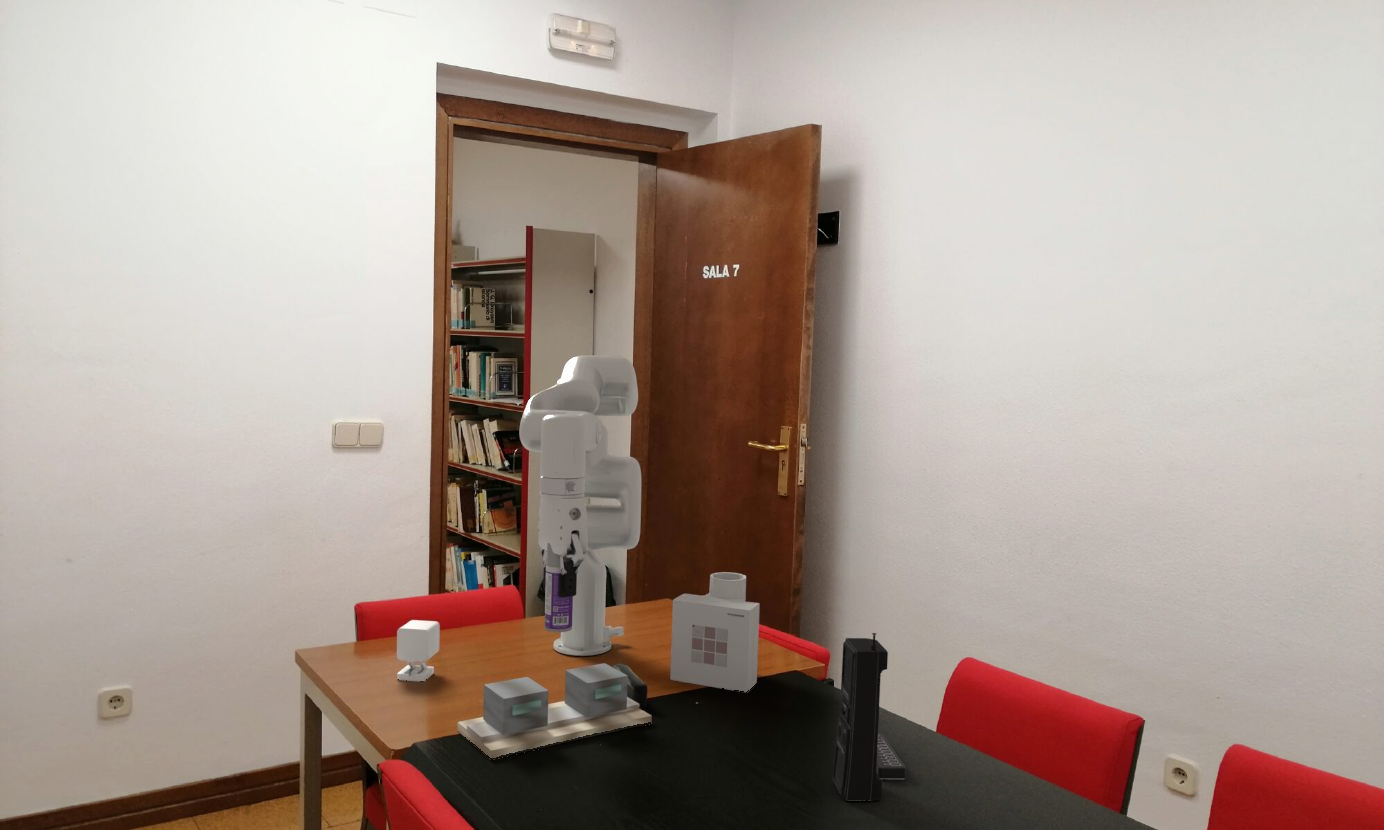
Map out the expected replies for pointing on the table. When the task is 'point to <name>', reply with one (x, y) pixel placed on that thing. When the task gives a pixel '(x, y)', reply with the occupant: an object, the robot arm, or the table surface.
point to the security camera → (417, 648)
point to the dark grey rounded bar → (634, 685)
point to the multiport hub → (888, 761)
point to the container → (556, 597)
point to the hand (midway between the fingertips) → (559, 591)
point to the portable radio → (859, 720)
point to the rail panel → (552, 711)
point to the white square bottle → (716, 636)
